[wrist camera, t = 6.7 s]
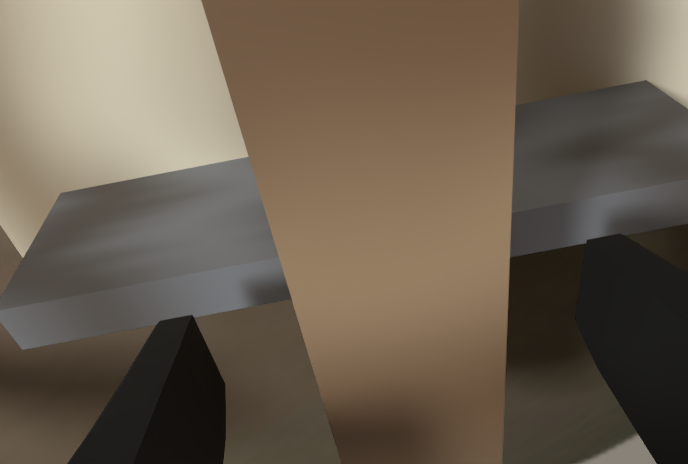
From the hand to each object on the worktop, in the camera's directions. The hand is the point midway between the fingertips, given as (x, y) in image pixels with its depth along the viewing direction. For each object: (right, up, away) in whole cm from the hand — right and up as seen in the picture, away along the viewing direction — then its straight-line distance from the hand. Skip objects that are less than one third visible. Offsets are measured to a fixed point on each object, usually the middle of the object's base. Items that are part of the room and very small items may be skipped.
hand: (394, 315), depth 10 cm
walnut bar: (0, +1, +1) cm, 2 cm away
